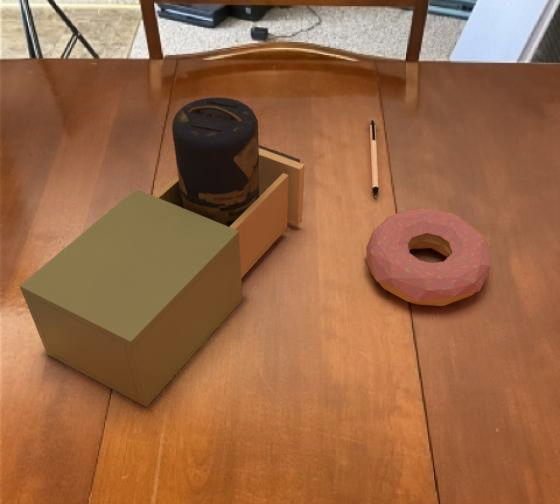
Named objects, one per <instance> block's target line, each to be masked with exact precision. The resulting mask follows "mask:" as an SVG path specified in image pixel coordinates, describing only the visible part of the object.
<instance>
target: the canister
mask: <svg viewBox="0 0 560 504" xmlns="http://www.w3.org/2000/svg"><path fill="white" fill-rule="evenodd" d="M258 122H259V121H258V119H257V116H256V114H255V112H254V111H253V110H252V108H251V107H249V106H248V105H247V104H245V103H243V102H242V101H240V100H237V99H233V98H229V97H206V98H201V99H200V98H199V99H197V100H193V101H191V102H189V103H186V104H185V105H184V106H182V107H181V108H180V109H179V110H178V111H177V112H176V113H175V115H174V117H173V119H172V124H171V132H172V140H173V145H174V154H175V162H176V168H177V175H178V178H179V191H180V199H181V206H182V208H184V209H186V210H189V211H191V212H194V213H196V214H198V215H201V216H203V217H206V218H208V219H211V220H213V221H215V222H218V223H220V224H223V225H225V226H228V227H230V226H231V225H232V224H233V223H234V222H235V221H236V220H237V219H238V218H239V217H240V216H241V215H242V214H243V213H244V212H245V211H246V210H247V209H248V208H249V207H250V206H251V205H252V204H253V203H254V202H255V201H256V200H257V199H258V198H259V181H260V175H259V145H260V141H259V140H260V139H259V123H258Z"/></svg>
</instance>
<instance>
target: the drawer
mask: <svg viewBox="0 0 560 504" xmlns="http://www.w3.org/2000/svg"><path fill="white" fill-rule="evenodd" d="M305 165H306V164H304V163H301V160H300V158H297V157H295V156H291V155H289V154H285V153H283V152H281V151H277V150H275V149H272V148H269V147H266V146H265V145H264V146H263V145H261V144H259V175H260V181H259V198H258V199H257V200H256V201H255V202H254V203H253V204H252V205H251V206H250V207H249V208H248V209H247V210H246V211H245V212H244V213H243V214H242V215H241V216H240V217H239V218H238V219H237V220H236V221H235V222H234V223H233V224H232V225H231V226H230V228H232V229H235V230H237V231H239V242H240V264H241V279H242V278H243V277H244V276H245V275H246V274H247V273H248V272H249V270H250V269H251V268H253V266H254V265H255V264H256V263H257V262H258V261H259V260H260V258H262V257H263V256H264V254H265V253H266V252H267V251H268V250H269V249H270V248H271V247H272V245H273V244H274V243H275V242H276V241H277V240H278V239H279V238H280V237H281V236H282V235H283V233H285V231H286V230H287V229H288V223H289V224H291V225H293V226H296V227H299V226H300V225H301V224H302V222H303V211H304V210H303V208H304V190H305V189H304V188H305V187H304V186H305V170H306V169H305ZM153 196H155V197H157V198H160V199H162V200H164V201H167V202H169V203H172V204H174V205H177V206H179V207H181V208H182V206H181V199H180V191H179V178H178V174H177V175H175V176H174V177H173V178H172V179H171V180H170V181H168V182H167V184H165V185H164V186H163V187H161V189H159V190H158V191H157V192H156V193H155V194H154V195H153Z"/></svg>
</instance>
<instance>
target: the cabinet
mask: <svg viewBox="0 0 560 504" xmlns="http://www.w3.org/2000/svg"><path fill="white" fill-rule="evenodd" d="M19 288H20V291H21V294H22V296H23V298H24V301H25V302H26V305H27V308H28V311H29V313H30V316H31V318H32V320H33V323H34V326H35V328H36V330H37V331H36V332H37V334H38V336H39V339H40V340H41V343H42V345H43V349H44V350H45V353H46V355H48V356H50V357H51V358H52V359H55V360H57V361H59V362H61V363H63V364H65V365H66V366H69V367H70V368H73V369H74V370H75V371H77V372H79V373H81V374H83V375H85V376H87V377H89V378H91V379H92V380H94V381H96V382H99V383H100V384H102V385H104V386H106V387H108V388H110V389H111V390H113V391H115V392H117V393H119V394H120V395H122V396H124V397H126V398H128V399H130V400H132V401H134V402H136V403H137V404H139V405H141V406H143V407H145V408H148V407H149V405H151V404H152V402H153V401H154V400H155V399H156V398H157V397H158V396H159V394H161V392H162V391H163V390H164V389H165V388H166V386H167V385H168V384H169V383H170V382H171V381H172V380H173V379H174V378H175V376H177V374H178V373H179V372H180V371H181V370H182V369H183V368H184V367H185V366H186V364H187V363H188V362H189V361H190V359H192V358H193V356H194V355H195V354H196V353H197V352H198V351H199V350H200V349H201V347H202V346H203V345H204V344H205V343H206V341H208V339H209V338H210V337H211V336H212V335H213V334H214V333H215V332H216V331H217V329H218V328H219V327H220V326H221V325H222V323H224V321H225V320H226V319H227V318H228V317H229V316H230V315H231V314H232V312H233V311H234V310H236V308H237V307H238V306H239V305H240V303H241V302H242V301H243V290H242V289H243V285H242V278H241V264H240V242H239V231H237V230H235V229H232V228H230V227H228V226H225V225H223V224H220V223H218V222H215V221H213V220H211V219H208V218H206V217H203V216H201V215H198V214H196V213H194V212H191V211H189V210H186V209H184V208H181V207H179V206H177V205H174V204H172V203H169V202H167V201H164V200H162V199H160V198H157V197H155V196H154V195H152V194H150V193H147V192H145V191H142V190H140V189H138V188H135V189H133V190H132V191H131V192H130V193H129V194H128V195H126V197H124V198H122V199H121V200H120V201H119V202H118V203H117V204H115V206H113V207H112V208H111V209H110V210H109V211H108V212H106V213H105V214H103V216H101V217H100V218H99V219H98V220H97V221H95V222H94V223H93V224H92V225H90V227H88V228H87V229H86V230H85V231H83V232H82V233H81V234H80V235H78V236H77V237H76V238H75V239H74V240H73V241H71V242H70V243H69V244H67V245H66V247H64V248H63V249H62V250H60V251H59V252H58V253H56V255H55V256H54V257H52V258H51V259H50V260H48V261H47V262H46V263H45V264H43V266H41V267H40V268H39V269H38V270H36V271H35V272H34V273H33V274H32V275H31V276H29V277H28V278H27V279H26V280H24V282H22V283H21V284H20V285H19Z"/></svg>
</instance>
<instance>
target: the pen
mask: <svg viewBox="0 0 560 504" xmlns="http://www.w3.org/2000/svg"><path fill="white" fill-rule="evenodd" d="M376 129H377V127H376V123H375V121H374V120H373V119H372V120H371V121H370V124H369V139H370V164H371V165H370V166H371V190H372V193H373V195H374V197H375V198H377V197H378V193H379V188H380V187H379V170H378V169H379V168H378V149H377V130H376Z"/></svg>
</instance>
